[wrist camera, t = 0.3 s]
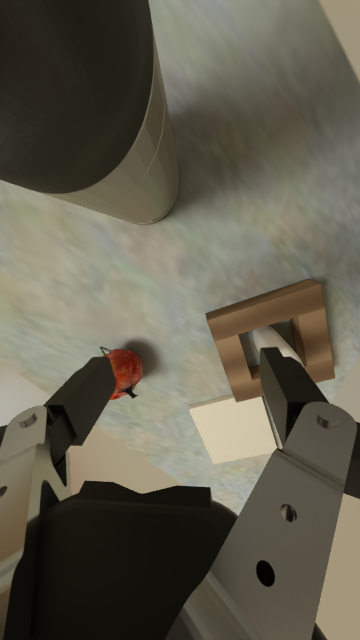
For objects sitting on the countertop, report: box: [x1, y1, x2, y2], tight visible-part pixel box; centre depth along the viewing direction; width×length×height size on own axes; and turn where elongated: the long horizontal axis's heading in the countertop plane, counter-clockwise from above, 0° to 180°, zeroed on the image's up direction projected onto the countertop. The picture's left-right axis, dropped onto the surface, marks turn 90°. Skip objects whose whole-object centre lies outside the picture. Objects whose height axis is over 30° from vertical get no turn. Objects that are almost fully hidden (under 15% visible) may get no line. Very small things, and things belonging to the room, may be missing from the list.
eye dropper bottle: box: [253, 325, 304, 367], centre depth 25 cm, size 4×6×12 cm
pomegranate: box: [100, 347, 143, 400], centre depth 30 cm, size 7×7×10 cm
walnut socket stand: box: [206, 279, 335, 403], centre depth 29 cm, size 14×14×3 cm
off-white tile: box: [189, 395, 277, 464], centre depth 36 cm, size 14×12×1 cm
